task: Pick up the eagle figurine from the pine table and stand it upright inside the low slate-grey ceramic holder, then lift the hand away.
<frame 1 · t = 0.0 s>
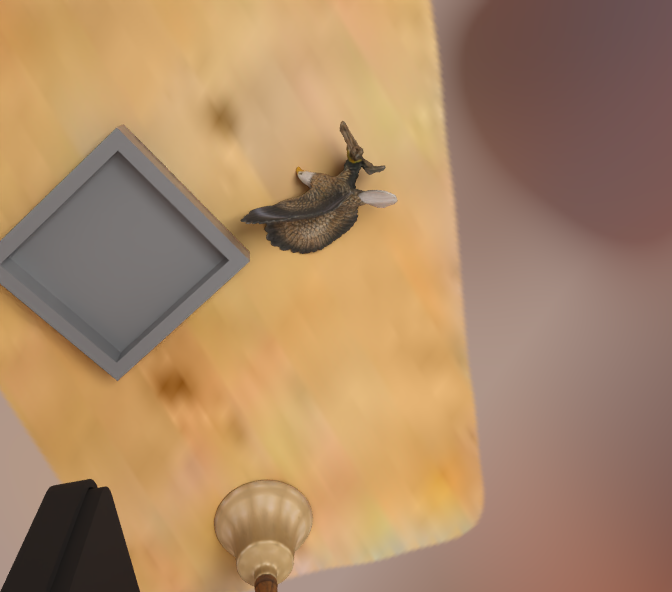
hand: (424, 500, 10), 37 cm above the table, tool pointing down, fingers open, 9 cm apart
holder: (123, 252, 45), on the table
hand bell: (263, 519, 55), on the table
eagle figurine: (314, 192, 46), on the table
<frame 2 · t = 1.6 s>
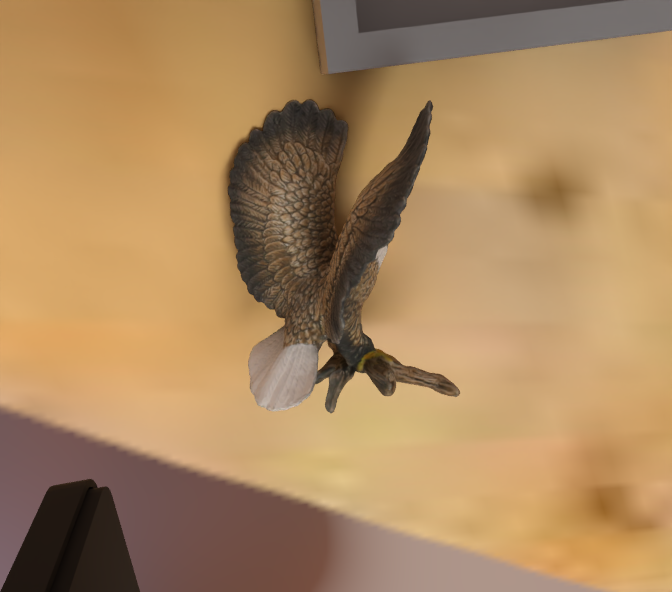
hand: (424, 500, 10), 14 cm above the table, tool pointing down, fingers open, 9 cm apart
eagle figurine: (329, 236, 23), on the table
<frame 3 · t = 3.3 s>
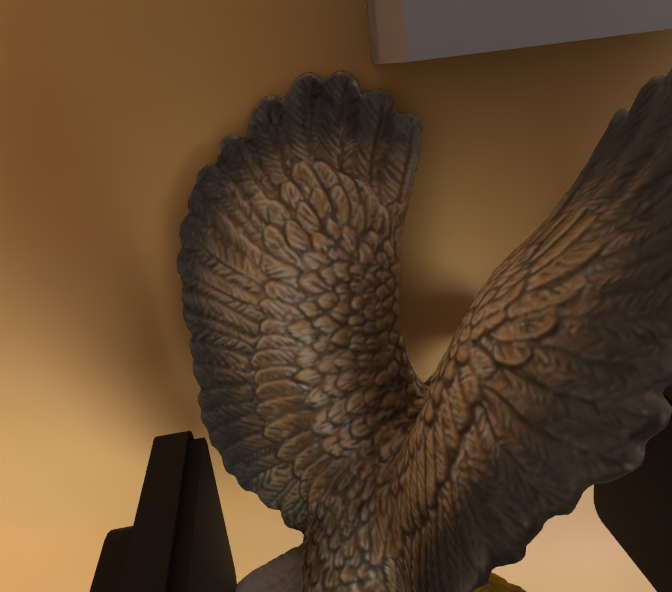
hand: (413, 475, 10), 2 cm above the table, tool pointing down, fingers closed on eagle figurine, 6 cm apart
eagle figurine: (379, 334, 12), on the table, touching gripper
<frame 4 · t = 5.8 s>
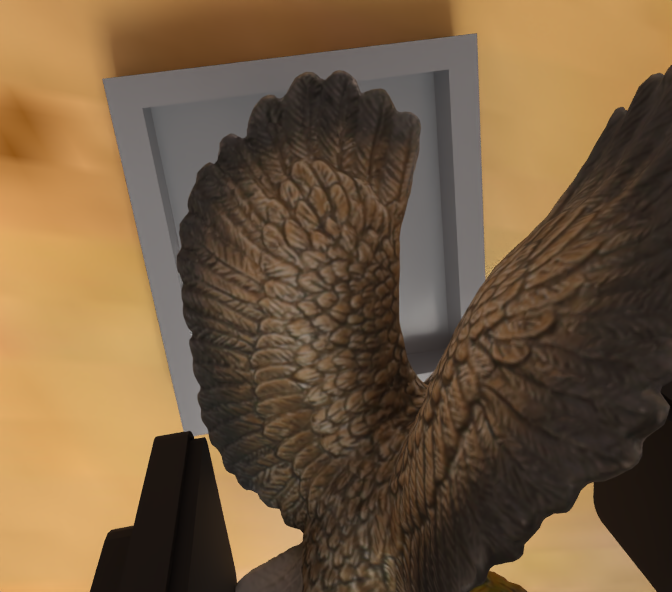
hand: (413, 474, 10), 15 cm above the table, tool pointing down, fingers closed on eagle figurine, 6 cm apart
holder: (312, 234, 25), on the table
eagle figurine: (379, 333, 12), point 13 cm above the table, touching gripper
when the fingers open (4 cm above the table, at t = 8.4 s): eagle figurine stays where it is, resting on holder.
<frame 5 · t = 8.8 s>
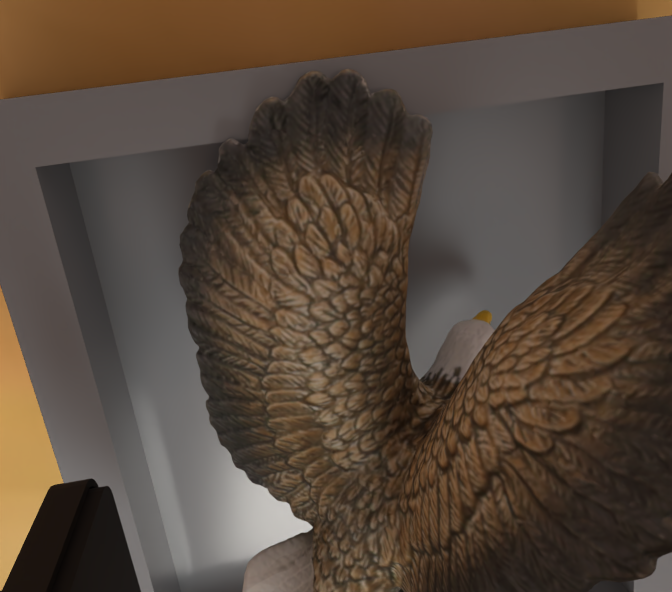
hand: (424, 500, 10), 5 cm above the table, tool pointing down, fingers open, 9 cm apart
holder: (369, 369, 14), on the table
eagle figurine: (376, 318, 12), point 1 cm above the table, touching holder
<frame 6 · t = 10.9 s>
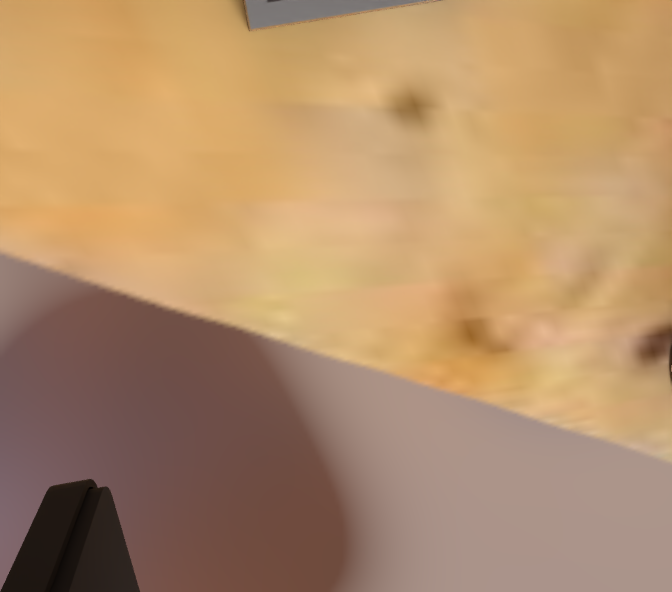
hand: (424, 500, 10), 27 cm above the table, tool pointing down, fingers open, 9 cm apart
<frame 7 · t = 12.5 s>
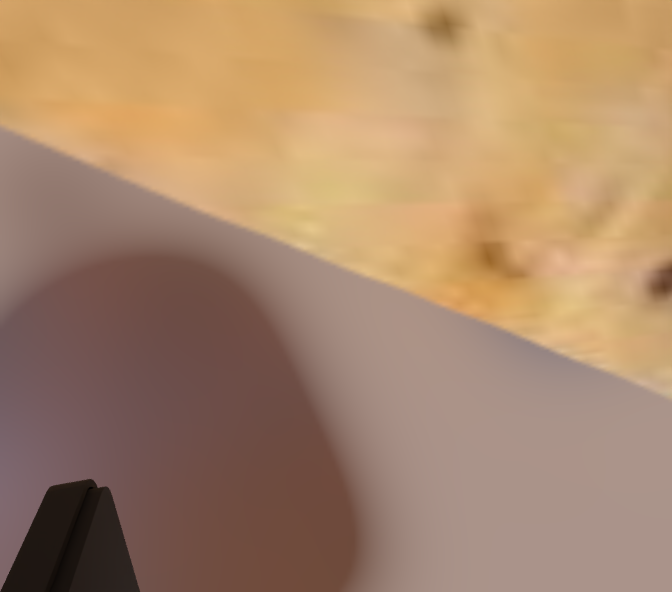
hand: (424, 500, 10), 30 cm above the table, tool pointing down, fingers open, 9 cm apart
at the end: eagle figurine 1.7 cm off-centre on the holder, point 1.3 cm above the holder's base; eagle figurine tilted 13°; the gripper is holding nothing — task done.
